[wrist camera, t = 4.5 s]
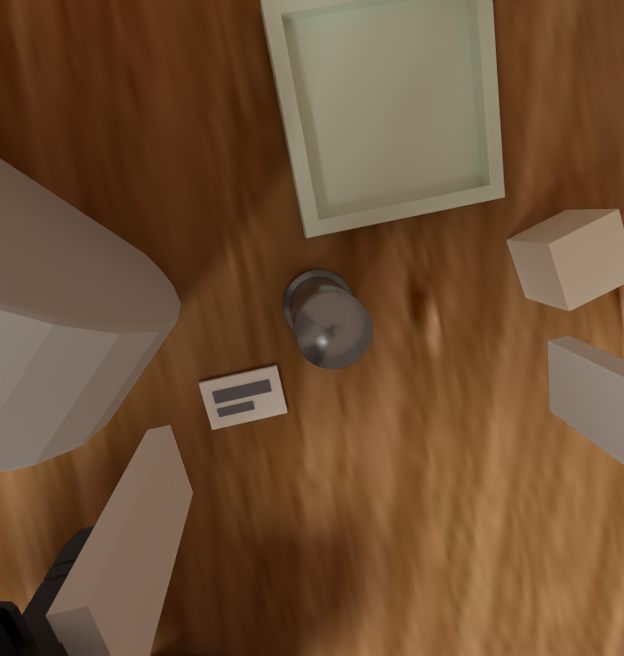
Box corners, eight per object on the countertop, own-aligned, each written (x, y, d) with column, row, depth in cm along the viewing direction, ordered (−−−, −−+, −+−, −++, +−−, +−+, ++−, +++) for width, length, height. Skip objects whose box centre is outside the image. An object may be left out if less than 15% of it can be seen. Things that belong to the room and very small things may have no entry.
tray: (304, 236, 30) (307, 238, 28) (260, 11, 26) (260, -3, 24) (491, 198, 31) (504, 197, 29) (475, -27, 27) (489, -43, 25)
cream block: (524, 297, 33) (568, 311, 28) (505, 239, 32) (548, 244, 27) (582, 269, 33) (636, 278, 28) (565, 209, 32) (619, 208, 27)
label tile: (212, 428, 33) (212, 430, 33) (199, 381, 32) (198, 383, 32) (287, 411, 33) (287, 413, 33) (276, 364, 32) (276, 366, 32)
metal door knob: (290, 343, 32) (298, 384, 24) (275, 276, 31) (280, 297, 23) (356, 329, 32) (385, 364, 25) (345, 262, 31) (372, 278, 23)
